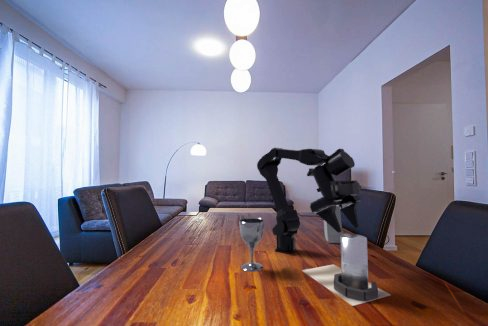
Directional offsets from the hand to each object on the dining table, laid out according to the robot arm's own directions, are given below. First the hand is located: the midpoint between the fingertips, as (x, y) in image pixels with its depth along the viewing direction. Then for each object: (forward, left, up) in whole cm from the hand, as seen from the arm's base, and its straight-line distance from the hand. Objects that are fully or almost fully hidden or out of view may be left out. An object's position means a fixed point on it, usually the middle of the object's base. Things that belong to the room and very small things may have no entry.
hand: (348, 229), depth 65 cm
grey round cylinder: (+2, -10, -12) cm, 16 cm away
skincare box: (-10, +33, -14) cm, 37 cm away
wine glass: (-28, -9, -14) cm, 32 cm away
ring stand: (-2, -7, -13) cm, 15 cm away
